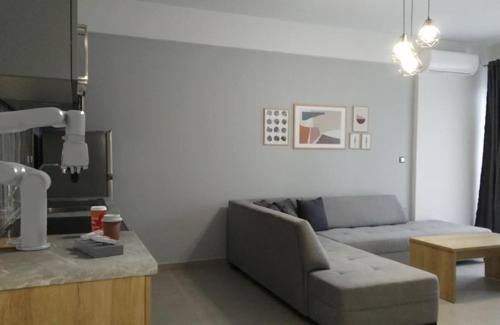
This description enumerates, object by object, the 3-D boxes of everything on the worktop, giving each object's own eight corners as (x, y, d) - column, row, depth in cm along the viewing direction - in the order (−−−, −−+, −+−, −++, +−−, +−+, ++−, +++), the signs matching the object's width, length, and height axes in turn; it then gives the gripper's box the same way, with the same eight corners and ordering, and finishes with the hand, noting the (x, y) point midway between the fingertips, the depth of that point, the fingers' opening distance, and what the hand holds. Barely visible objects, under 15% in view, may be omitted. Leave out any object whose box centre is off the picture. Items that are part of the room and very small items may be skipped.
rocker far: (84, 240, 169) (84, 237, 169) (81, 238, 172) (80, 235, 172) (103, 233, 174) (102, 230, 174) (99, 232, 177) (99, 229, 177)
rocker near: (96, 241, 158) (97, 237, 158) (92, 239, 162) (93, 236, 162) (116, 243, 163) (117, 240, 163) (111, 242, 167) (112, 238, 167)
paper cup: (87, 235, 203) (87, 206, 203) (102, 233, 208) (103, 205, 208) (93, 237, 197) (94, 207, 197) (109, 235, 203) (109, 207, 203)
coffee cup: (121, 239, 194) (121, 213, 194) (122, 242, 185) (123, 216, 185) (100, 240, 190) (101, 214, 190) (100, 243, 182) (101, 216, 182)
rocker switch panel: (95, 258, 155) (95, 246, 155) (74, 247, 173) (74, 237, 173) (123, 254, 162) (123, 243, 162) (100, 244, 180) (100, 234, 180)
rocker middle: (90, 238, 163) (90, 235, 164) (86, 237, 167) (86, 234, 167) (109, 240, 169) (110, 237, 169) (105, 238, 172) (106, 235, 172)
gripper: (59, 138, 168) (58, 183, 168) (96, 140, 178) (95, 183, 178) (54, 138, 174) (53, 182, 174) (90, 140, 184) (89, 182, 184)
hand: (74, 182), depth 176 cm, fingers closed
